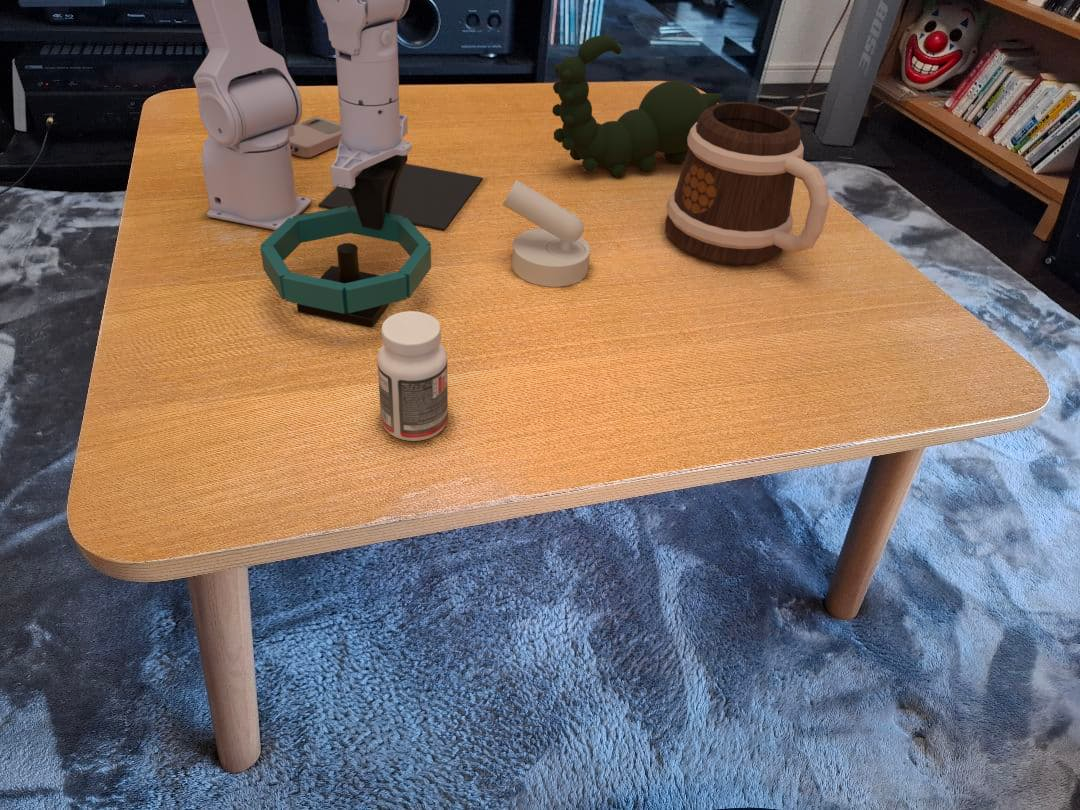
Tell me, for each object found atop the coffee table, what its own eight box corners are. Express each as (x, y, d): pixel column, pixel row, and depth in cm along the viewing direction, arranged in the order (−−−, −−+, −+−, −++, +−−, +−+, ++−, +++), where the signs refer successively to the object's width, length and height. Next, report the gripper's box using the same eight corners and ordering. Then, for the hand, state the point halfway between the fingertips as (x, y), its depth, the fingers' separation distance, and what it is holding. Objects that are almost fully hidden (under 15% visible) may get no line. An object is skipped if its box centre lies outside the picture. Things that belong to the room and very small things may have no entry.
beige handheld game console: (368, 133, 122) (366, 112, 120) (286, 168, 111) (284, 146, 109) (332, 121, 124) (331, 100, 122) (250, 154, 114) (246, 132, 112)
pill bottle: (457, 411, 76) (459, 317, 70) (431, 451, 72) (429, 355, 66) (399, 394, 77) (395, 301, 71) (369, 432, 73) (362, 337, 67)
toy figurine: (572, 201, 114) (733, 165, 121) (575, 55, 101) (754, 25, 108) (543, 171, 120) (698, 139, 127) (542, 31, 107) (714, 3, 115)
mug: (636, 228, 105) (655, 107, 96) (718, 199, 113) (743, 85, 104) (762, 303, 94) (798, 174, 85) (843, 265, 102) (885, 143, 92)
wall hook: (513, 163, 95) (602, 177, 94) (509, 240, 101) (593, 254, 100) (494, 196, 88) (590, 211, 87) (491, 277, 94) (581, 292, 93)
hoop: (239, 291, 82) (235, 267, 80) (312, 219, 93) (309, 197, 92) (391, 324, 80) (390, 300, 78) (446, 246, 91) (446, 224, 90)
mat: (318, 206, 104) (318, 204, 104) (368, 158, 115) (368, 156, 115) (444, 230, 101) (444, 228, 101) (482, 179, 113) (482, 177, 113)
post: (297, 311, 86) (290, 259, 83) (331, 273, 92) (327, 222, 89) (372, 327, 85) (369, 275, 81) (402, 287, 91) (400, 236, 87)
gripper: (378, 129, 76) (384, 263, 85) (434, 77, 87) (434, 201, 96) (304, 116, 77) (318, 249, 86) (369, 67, 88) (375, 189, 97)
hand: (375, 223), depth 91 cm, fingers closed on hoop
